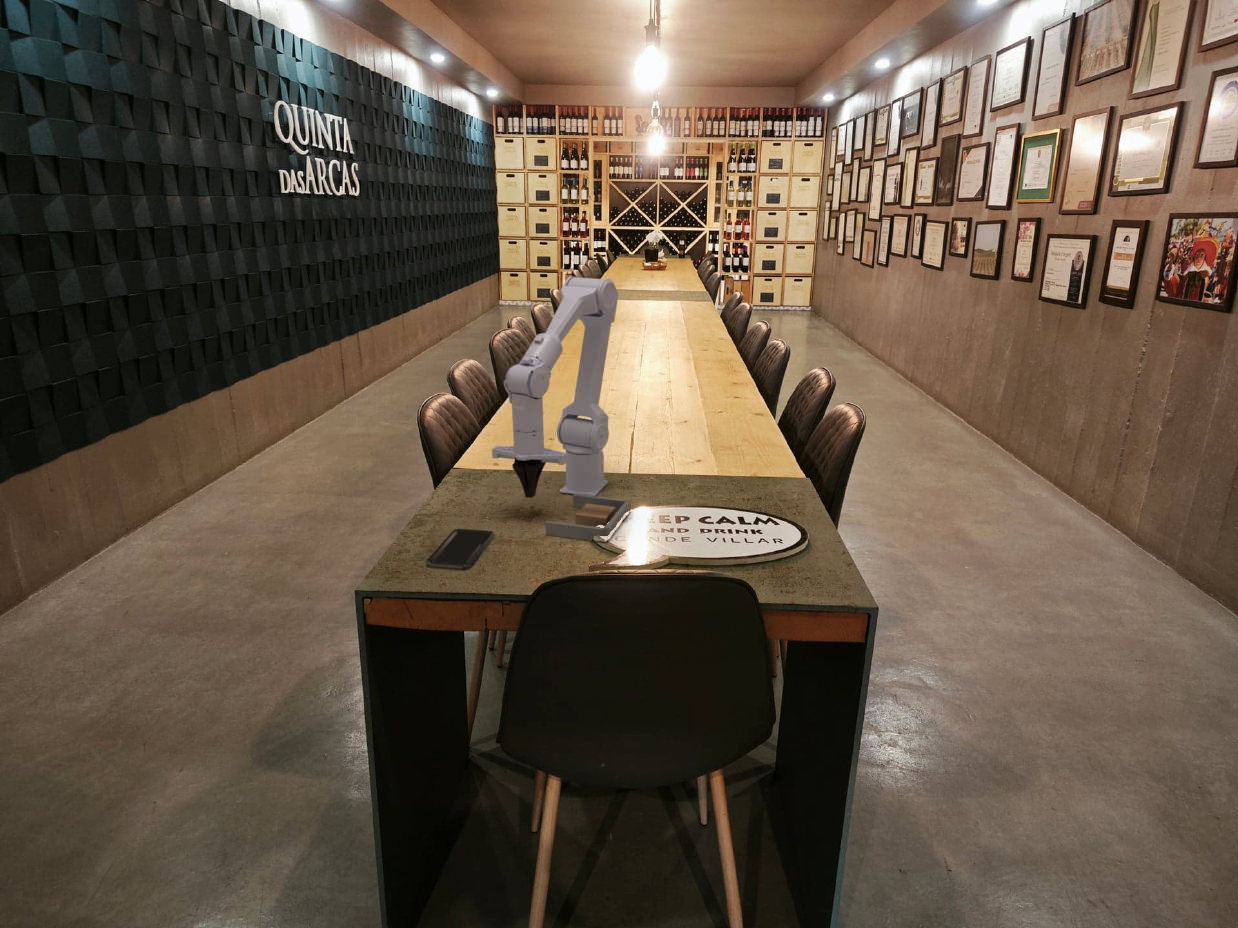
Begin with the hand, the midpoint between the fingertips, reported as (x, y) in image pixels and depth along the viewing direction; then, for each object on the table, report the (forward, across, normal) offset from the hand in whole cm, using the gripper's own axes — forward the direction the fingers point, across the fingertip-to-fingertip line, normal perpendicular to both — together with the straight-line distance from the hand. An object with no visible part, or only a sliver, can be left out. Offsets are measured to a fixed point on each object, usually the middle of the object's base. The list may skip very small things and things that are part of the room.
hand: (530, 495), depth 152 cm
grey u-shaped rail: (+4, +12, 0) cm, 13 cm away
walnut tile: (+4, +13, 0) cm, 14 cm away
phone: (+5, -5, -19) cm, 20 cm away
